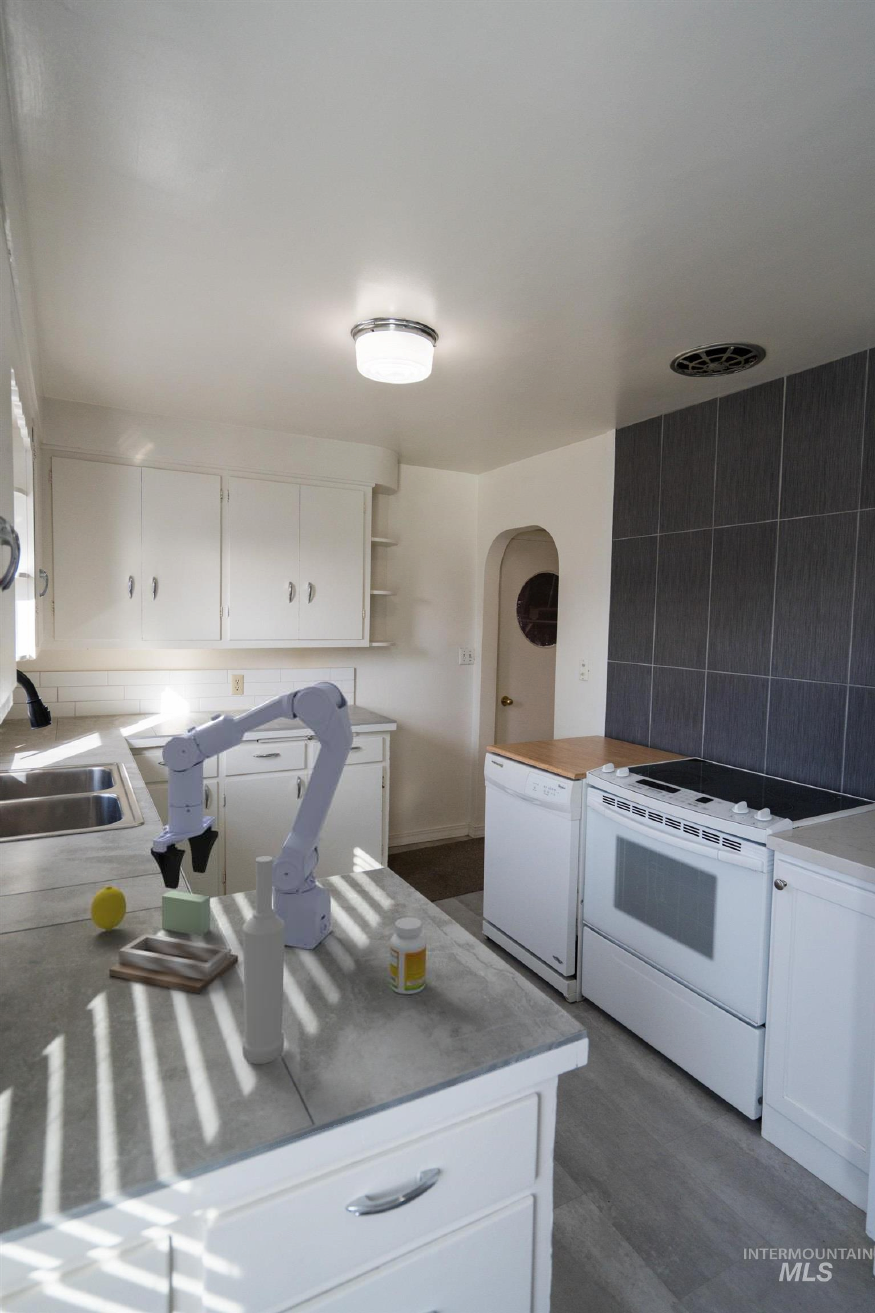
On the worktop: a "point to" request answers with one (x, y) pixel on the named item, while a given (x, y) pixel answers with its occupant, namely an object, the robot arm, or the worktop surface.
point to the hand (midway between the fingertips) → (185, 879)
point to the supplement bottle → (408, 957)
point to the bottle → (263, 973)
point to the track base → (173, 962)
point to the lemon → (108, 908)
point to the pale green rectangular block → (186, 912)
